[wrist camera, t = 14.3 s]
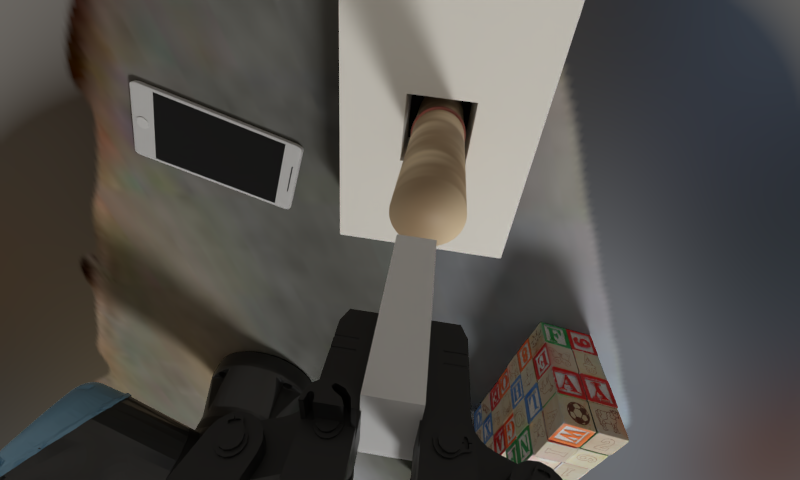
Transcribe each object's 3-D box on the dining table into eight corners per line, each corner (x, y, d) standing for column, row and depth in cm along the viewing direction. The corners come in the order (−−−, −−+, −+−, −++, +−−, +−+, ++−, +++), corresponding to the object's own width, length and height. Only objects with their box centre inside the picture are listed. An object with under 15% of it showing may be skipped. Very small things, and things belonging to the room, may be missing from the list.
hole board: (353, 205, 36) (340, 234, 32) (358, -54, 24) (338, -60, 20) (495, 226, 35) (500, 258, 31) (571, -30, 24) (595, -32, 20)
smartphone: (135, 77, 32) (127, 79, 31) (306, 144, 34) (302, 148, 33) (141, 149, 36) (134, 153, 35) (292, 206, 38) (289, 211, 37)
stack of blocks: (512, 422, 55) (524, 521, 45) (472, 412, 55) (476, 509, 45) (591, 333, 42) (632, 443, 32) (539, 319, 42) (564, 425, 32)
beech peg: (415, 132, 31) (384, 241, 18) (420, 85, 29) (389, 171, 16) (459, 138, 31) (460, 253, 18) (468, 91, 29) (477, 184, 16)
